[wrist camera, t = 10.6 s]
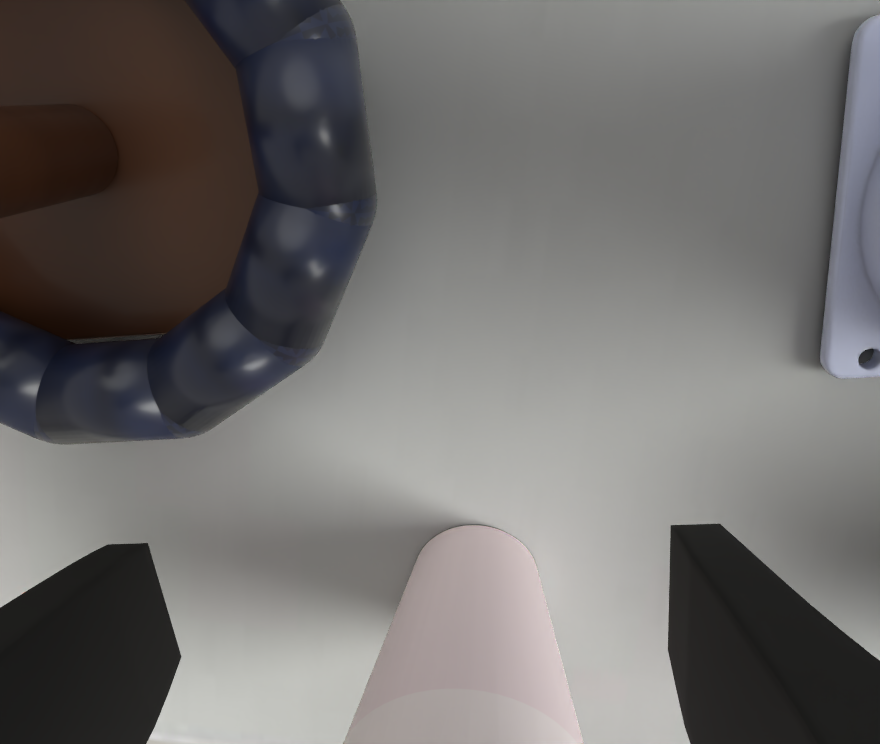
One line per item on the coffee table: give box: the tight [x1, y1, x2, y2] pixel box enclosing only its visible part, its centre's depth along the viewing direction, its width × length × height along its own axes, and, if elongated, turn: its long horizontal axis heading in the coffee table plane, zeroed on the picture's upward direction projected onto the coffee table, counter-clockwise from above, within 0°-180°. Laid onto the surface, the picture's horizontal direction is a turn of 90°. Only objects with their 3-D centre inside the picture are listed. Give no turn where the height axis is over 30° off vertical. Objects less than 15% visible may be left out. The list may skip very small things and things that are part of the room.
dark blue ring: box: [0, 0, 377, 444], centre depth 15 cm, size 13×13×2 cm
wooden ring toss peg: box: [0, 0, 259, 341], centre depth 14 cm, size 9×9×7 cm
